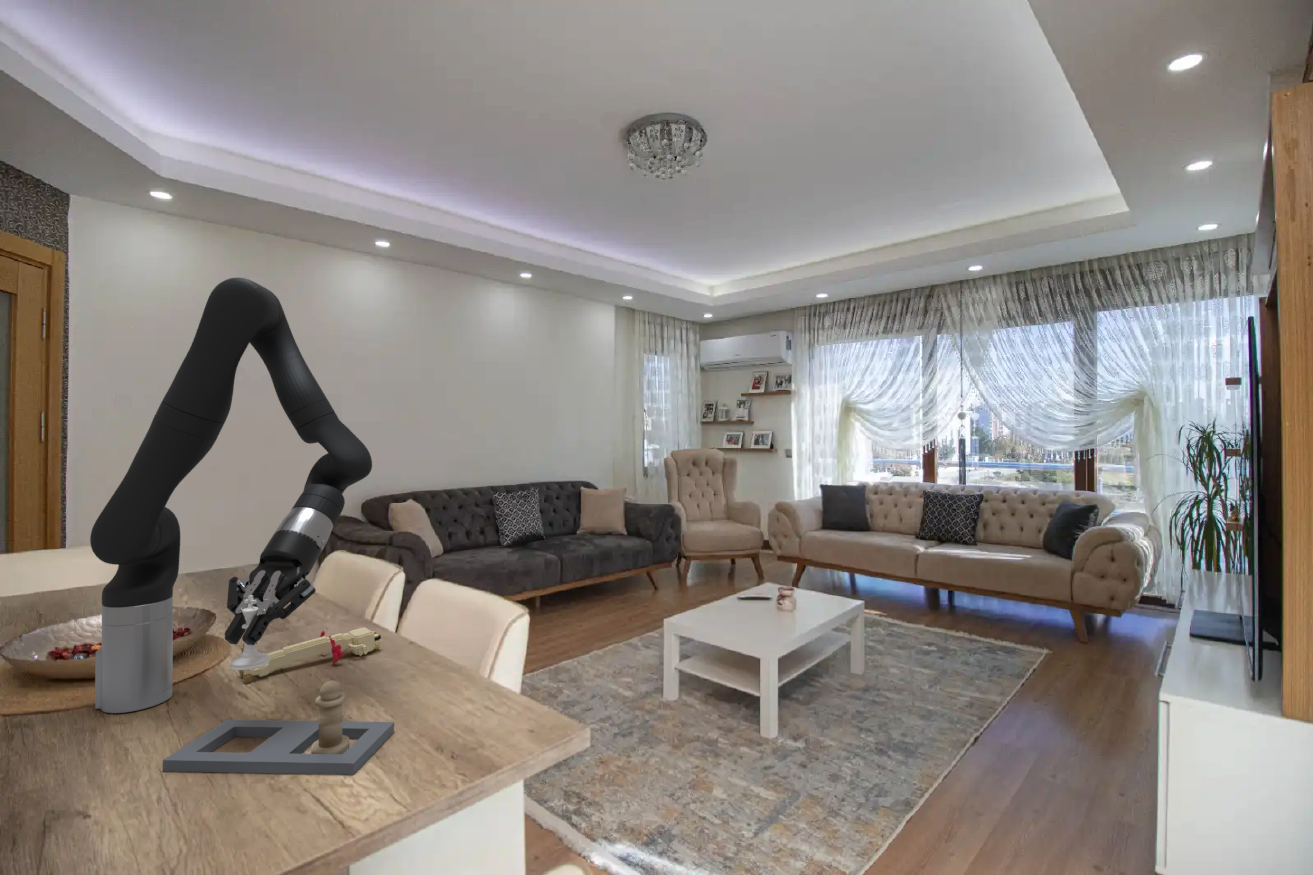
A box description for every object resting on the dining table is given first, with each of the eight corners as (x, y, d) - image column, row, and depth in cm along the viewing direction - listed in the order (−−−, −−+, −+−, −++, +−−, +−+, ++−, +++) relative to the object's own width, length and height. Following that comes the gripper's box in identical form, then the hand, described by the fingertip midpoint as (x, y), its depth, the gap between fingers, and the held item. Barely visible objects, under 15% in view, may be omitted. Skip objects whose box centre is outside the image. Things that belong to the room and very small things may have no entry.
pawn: (304, 759, 86) (304, 687, 86) (323, 742, 91) (323, 674, 91) (338, 760, 86) (338, 688, 86) (355, 743, 91) (355, 675, 91)
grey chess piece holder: (162, 771, 83) (162, 760, 83) (227, 729, 95) (227, 719, 95) (353, 774, 82) (353, 763, 82) (394, 731, 94) (394, 722, 94)
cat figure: (249, 695, 111) (390, 651, 128) (244, 648, 110) (387, 609, 128) (237, 679, 118) (373, 639, 135) (233, 635, 118) (370, 600, 135)
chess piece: (250, 671, 88) (251, 601, 88) (220, 668, 89) (221, 599, 88) (277, 659, 92) (278, 592, 92) (249, 656, 93) (250, 590, 93)
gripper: (246, 527, 99) (178, 627, 86) (327, 529, 97) (270, 631, 85) (270, 554, 104) (209, 652, 92) (348, 556, 102) (296, 656, 90)
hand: (239, 641), depth 88 cm, fingers closed on chess piece
